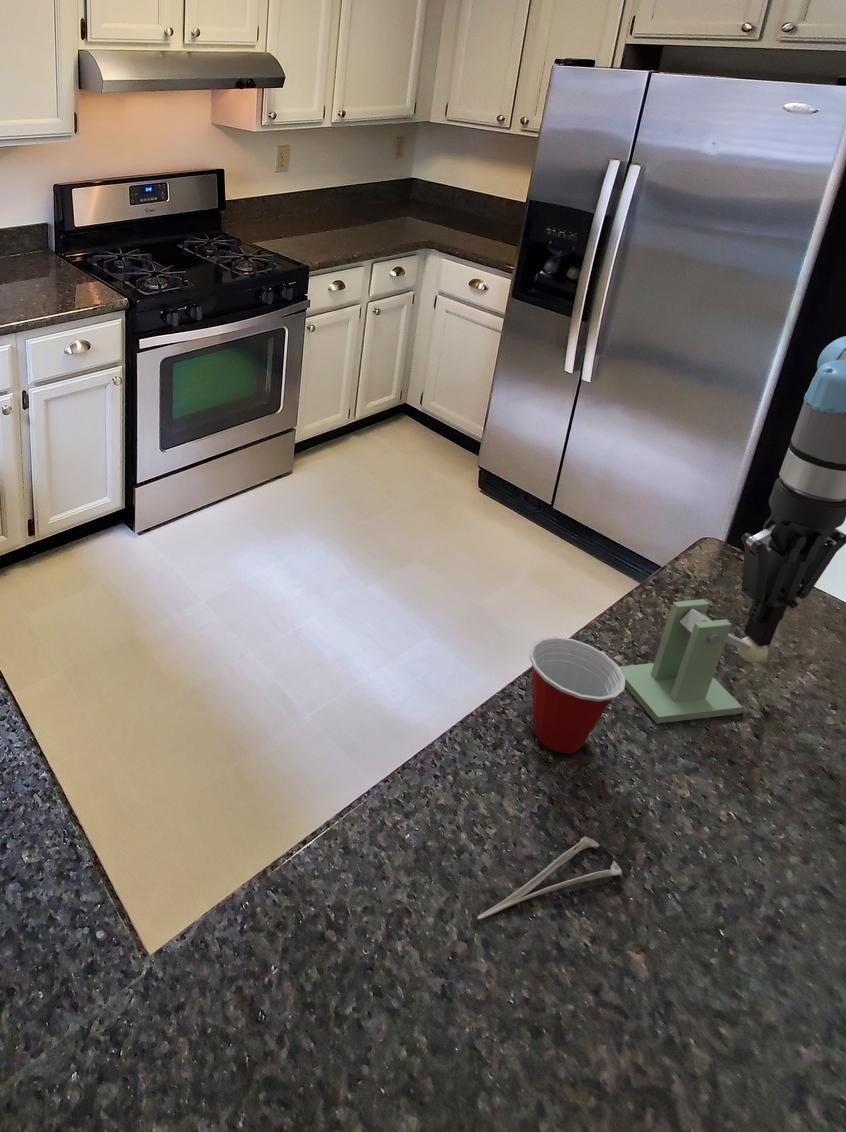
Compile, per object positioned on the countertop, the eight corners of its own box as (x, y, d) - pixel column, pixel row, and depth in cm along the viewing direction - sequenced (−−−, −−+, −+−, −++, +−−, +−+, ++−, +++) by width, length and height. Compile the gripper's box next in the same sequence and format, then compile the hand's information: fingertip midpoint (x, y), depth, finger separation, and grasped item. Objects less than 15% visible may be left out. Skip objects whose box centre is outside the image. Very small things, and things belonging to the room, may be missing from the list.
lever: (742, 653, 109) (759, 635, 108) (761, 671, 106) (779, 653, 105) (673, 621, 105) (691, 602, 104) (691, 639, 102) (710, 619, 100)
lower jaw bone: (588, 839, 89) (591, 828, 88) (623, 878, 85) (627, 866, 84) (460, 905, 84) (462, 894, 83) (492, 949, 80) (494, 938, 79)
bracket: (692, 664, 113) (719, 586, 107) (740, 713, 105) (772, 632, 99) (613, 673, 111) (636, 594, 106) (656, 723, 103) (683, 641, 98)
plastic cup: (625, 751, 100) (647, 678, 94) (563, 783, 95) (583, 710, 90) (554, 692, 108) (572, 623, 103) (495, 719, 104) (510, 649, 99)
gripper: (836, 467, 100) (778, 615, 110) (741, 474, 98) (691, 624, 108) (892, 499, 93) (824, 653, 103) (791, 507, 91) (732, 663, 102)
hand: (756, 638), depth 106 cm, fingers closed
